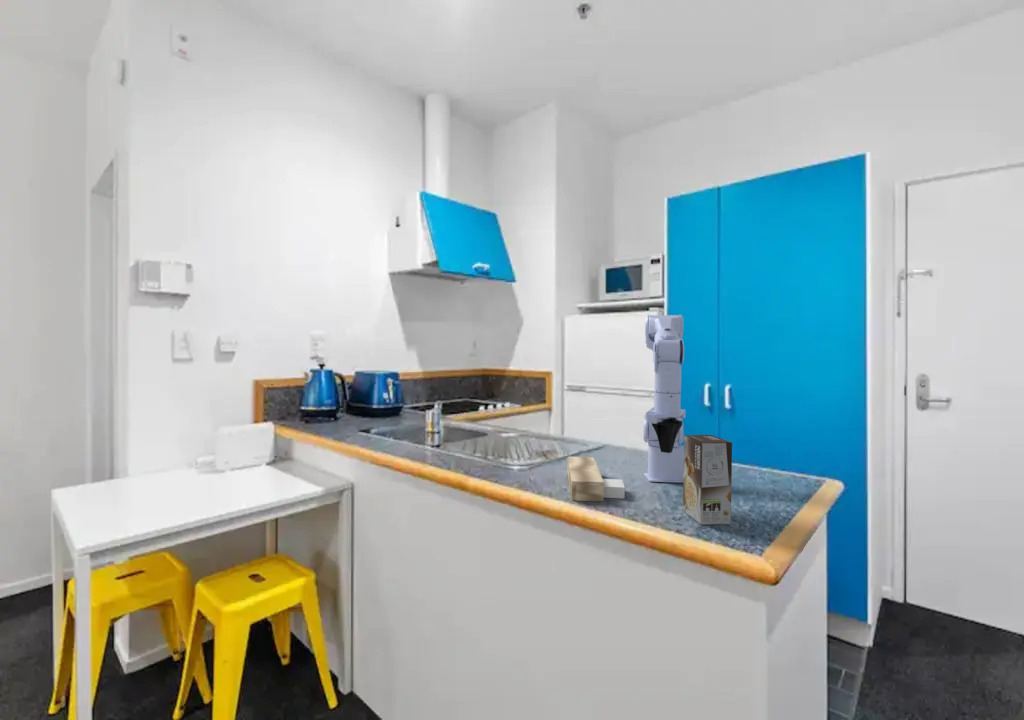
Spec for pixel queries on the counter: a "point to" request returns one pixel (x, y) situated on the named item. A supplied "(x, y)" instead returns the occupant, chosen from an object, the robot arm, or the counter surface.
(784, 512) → the counter surface
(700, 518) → the coffee box
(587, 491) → the wooden block
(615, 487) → the white flat block
